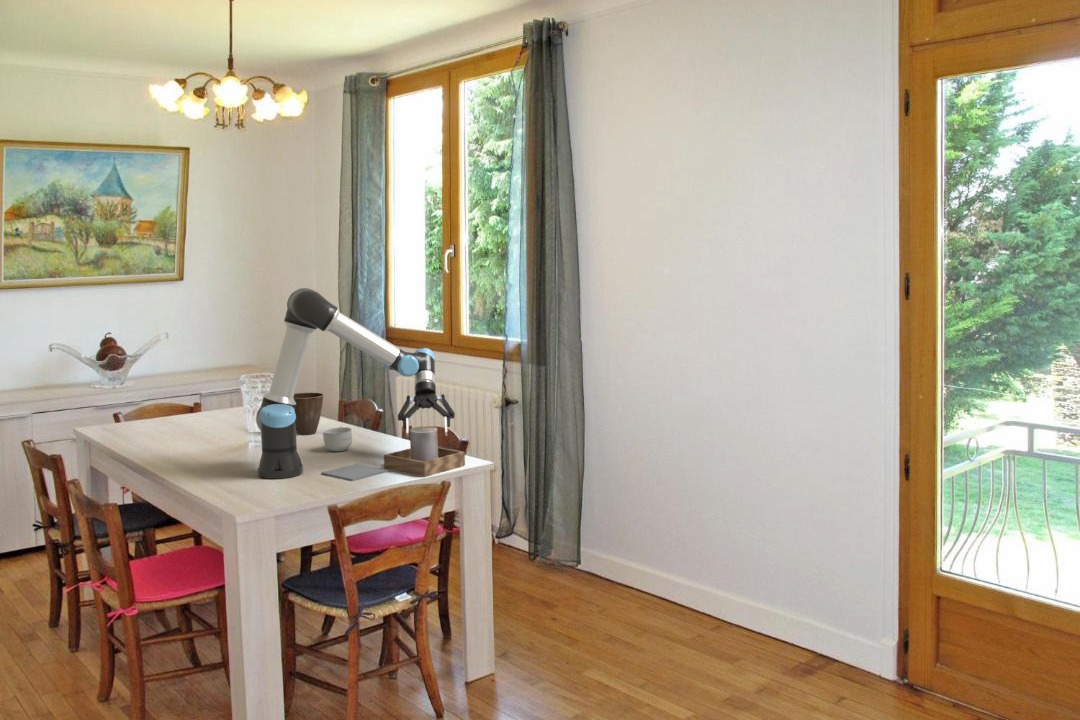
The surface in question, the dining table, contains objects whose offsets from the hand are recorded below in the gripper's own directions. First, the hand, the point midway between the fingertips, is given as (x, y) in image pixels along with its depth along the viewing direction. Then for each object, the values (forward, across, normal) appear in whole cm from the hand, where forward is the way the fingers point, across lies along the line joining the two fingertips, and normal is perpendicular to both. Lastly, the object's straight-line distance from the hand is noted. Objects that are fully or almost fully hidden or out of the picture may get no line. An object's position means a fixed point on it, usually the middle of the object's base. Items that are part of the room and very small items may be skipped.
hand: (427, 434), depth 352 cm
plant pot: (-39, +49, -55) cm, 83 cm away
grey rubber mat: (+13, +25, -3) cm, 28 cm away
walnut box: (+10, +1, -6) cm, 11 cm away
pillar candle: (+10, +1, -6) cm, 12 cm away
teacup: (-15, +33, -31) cm, 48 cm away
